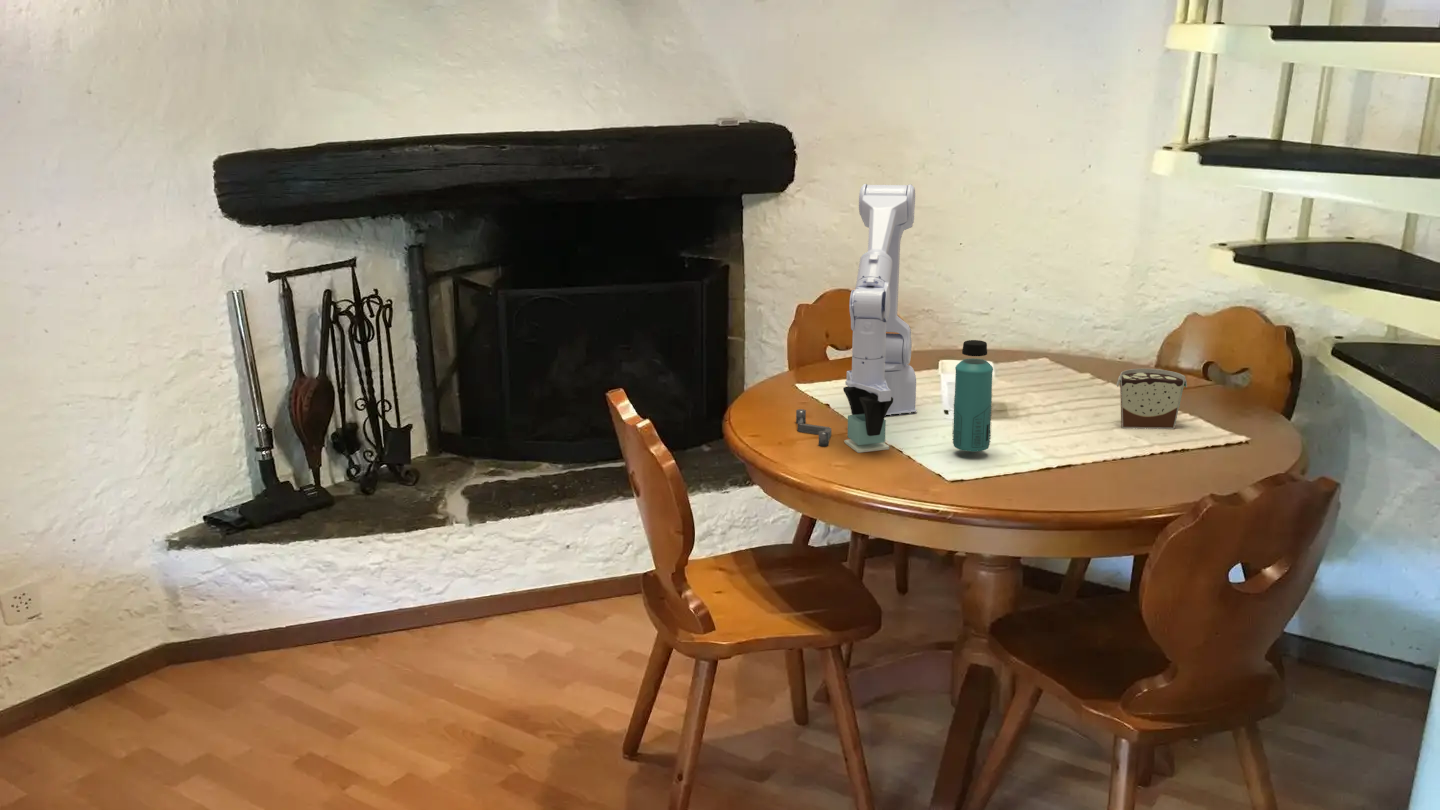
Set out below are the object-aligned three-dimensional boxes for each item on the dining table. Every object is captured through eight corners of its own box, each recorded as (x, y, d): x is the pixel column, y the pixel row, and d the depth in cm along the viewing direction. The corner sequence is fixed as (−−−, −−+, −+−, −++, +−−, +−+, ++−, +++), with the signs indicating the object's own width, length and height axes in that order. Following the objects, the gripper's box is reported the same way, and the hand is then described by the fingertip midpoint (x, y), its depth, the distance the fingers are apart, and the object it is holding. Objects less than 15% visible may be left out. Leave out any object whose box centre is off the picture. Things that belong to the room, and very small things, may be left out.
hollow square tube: (873, 433, 200) (873, 412, 199) (885, 442, 195) (885, 420, 194) (847, 436, 199) (847, 415, 198) (858, 445, 194) (859, 423, 193)
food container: (1173, 419, 210) (1178, 368, 207) (1182, 429, 204) (1188, 376, 201) (1105, 418, 211) (1110, 367, 208) (1113, 428, 205) (1118, 375, 203)
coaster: (875, 439, 201) (875, 436, 201) (889, 449, 196) (889, 446, 195) (844, 442, 199) (844, 440, 199) (857, 452, 194) (857, 450, 194)
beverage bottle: (990, 461, 189) (996, 346, 183) (950, 459, 190) (955, 345, 184) (989, 449, 195) (995, 337, 189) (950, 447, 196) (955, 336, 191)
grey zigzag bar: (811, 420, 213) (811, 408, 212) (843, 444, 198) (843, 431, 198) (787, 422, 212) (787, 410, 211) (817, 447, 197) (817, 434, 196)
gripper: (831, 348, 198) (830, 421, 202) (864, 367, 185) (862, 444, 189) (867, 345, 200) (866, 417, 204) (903, 363, 187) (900, 440, 191)
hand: (867, 430), depth 197 cm, fingers open, 5 cm apart
